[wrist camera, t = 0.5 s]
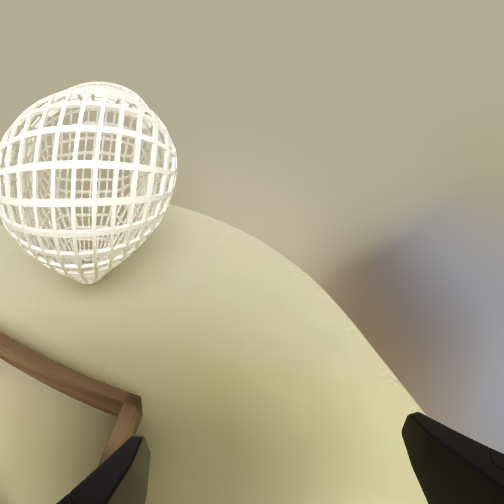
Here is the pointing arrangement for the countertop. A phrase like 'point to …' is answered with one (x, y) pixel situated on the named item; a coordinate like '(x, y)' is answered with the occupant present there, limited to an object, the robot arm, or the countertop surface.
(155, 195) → the heart
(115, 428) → the walnut bay
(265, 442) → the countertop surface
